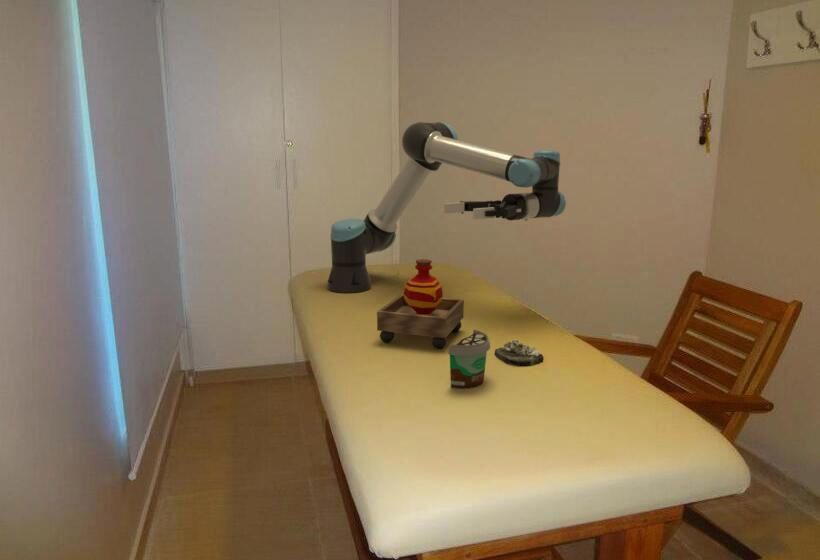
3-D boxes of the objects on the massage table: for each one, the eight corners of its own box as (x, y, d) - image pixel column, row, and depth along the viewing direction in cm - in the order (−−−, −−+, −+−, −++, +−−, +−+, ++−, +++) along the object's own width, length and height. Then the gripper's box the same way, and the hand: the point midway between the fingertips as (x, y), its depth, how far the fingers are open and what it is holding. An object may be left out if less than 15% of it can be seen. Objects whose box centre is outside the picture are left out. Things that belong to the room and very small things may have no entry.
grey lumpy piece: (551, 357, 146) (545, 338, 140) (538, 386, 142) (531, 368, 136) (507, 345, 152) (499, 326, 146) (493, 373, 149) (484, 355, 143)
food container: (473, 396, 123) (475, 350, 121) (447, 389, 126) (448, 344, 124) (498, 376, 133) (500, 333, 131) (473, 370, 137) (474, 328, 134)
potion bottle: (443, 311, 162) (444, 257, 159) (442, 323, 152) (442, 265, 149) (404, 310, 163) (404, 256, 160) (400, 322, 153) (400, 264, 150)
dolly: (377, 343, 154) (377, 311, 152) (401, 323, 170) (401, 294, 168) (445, 352, 148) (445, 318, 146) (463, 330, 165) (463, 299, 163)
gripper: (548, 225, 163) (486, 231, 153) (491, 214, 184) (433, 219, 173) (550, 197, 161) (487, 201, 151) (492, 190, 182) (433, 193, 172)
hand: (458, 211), depth 162 cm, fingers open, 13 cm apart
